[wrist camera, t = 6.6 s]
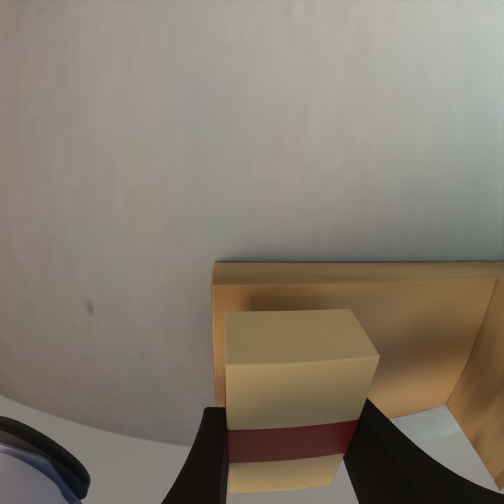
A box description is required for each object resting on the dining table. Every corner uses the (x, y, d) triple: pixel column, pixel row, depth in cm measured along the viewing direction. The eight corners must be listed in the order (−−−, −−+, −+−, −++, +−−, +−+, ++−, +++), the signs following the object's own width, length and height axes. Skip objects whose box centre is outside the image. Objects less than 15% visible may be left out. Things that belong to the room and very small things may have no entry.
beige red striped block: (319, 439, 12) (332, 485, 10) (226, 444, 12) (228, 494, 10) (351, 307, 10) (383, 356, 8) (223, 310, 10) (223, 365, 7)
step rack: (529, 354, 17) (591, 420, 9) (218, 406, 15) (219, 566, 7) (564, 259, 14) (647, 314, 6) (213, 261, 12) (197, 468, 4)
